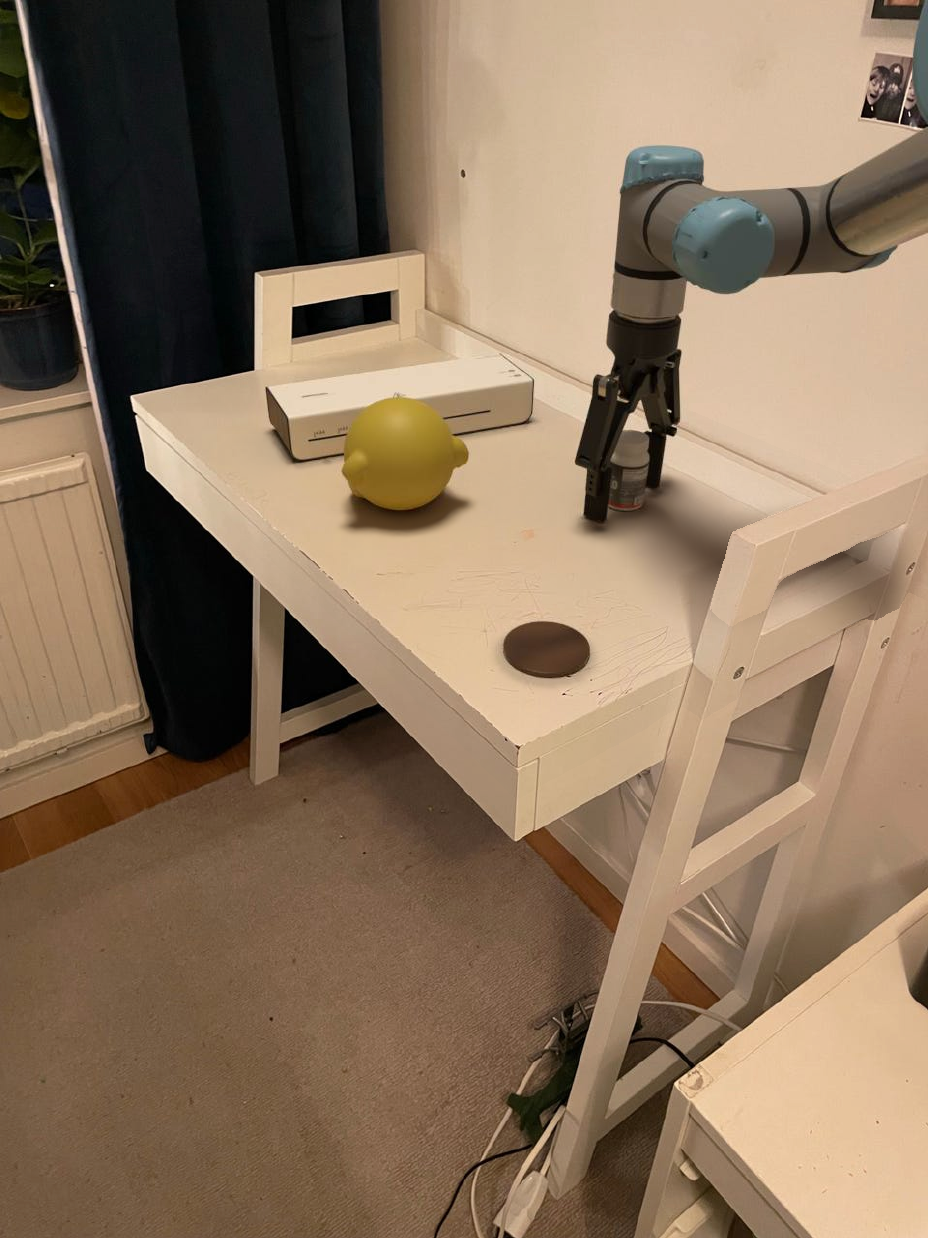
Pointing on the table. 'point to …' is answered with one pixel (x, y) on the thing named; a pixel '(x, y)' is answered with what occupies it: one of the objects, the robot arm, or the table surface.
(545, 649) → the coaster
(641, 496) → the pill bottle
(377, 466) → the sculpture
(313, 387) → the laminator
